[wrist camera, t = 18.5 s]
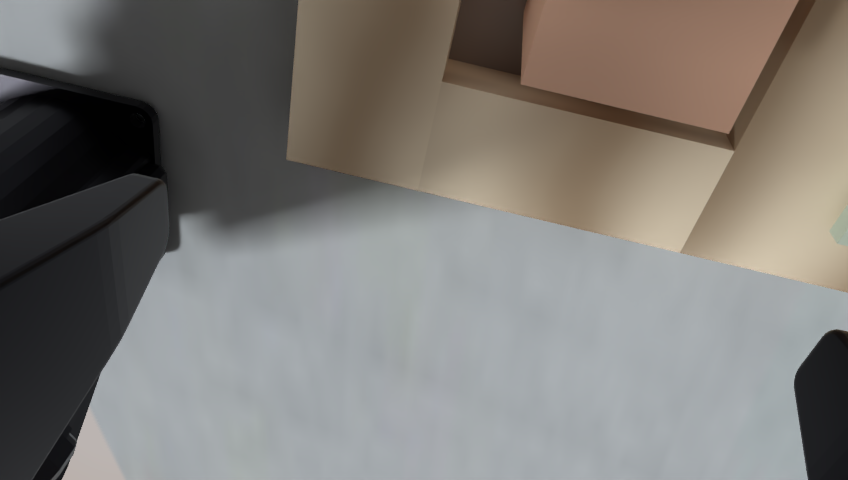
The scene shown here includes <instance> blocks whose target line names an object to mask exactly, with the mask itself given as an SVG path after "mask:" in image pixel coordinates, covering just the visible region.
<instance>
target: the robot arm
mask: <svg viewBox="0 0 848 480" xmlns="http://www.w3.org/2000/svg"><path fill="white" fill-rule="evenodd" d="M136 113H137V114H139V115H141V116H142V117H143V118H144V120H145V122H142V121H140V120H139V119H138V118H137V116H136ZM168 238H169V214H168V194H167V174H166V172H165V170H164V168H163V167H162V166H161V157H160V138H159V120H158V115H157V113H156V111H155V110H154V108H153V107H152V106H150V105H149V104H148V103H145V102H143V101H139V100H135V99H131V98H126V97H122V96H118V95H114V94H110V93H105V92H101V91H97V90H93V89H88V88H84V87H80V86H76V85H72V84H67V83H63V82H59V81H55V80H50V79H46V78H42V77H38V76H34V75H29V74H25V73H21V72H17V71H12V70H8V69H4V68H0V480H61V479H62V478H63V475H64V473H65V471H66V469H67V467H68V464H69V462H70V459H71V457H72V456H73V454H74V451H75V447H76V443H77V439H78V436H79V433H80V430H81V427H82V425H83V422H84V419H85V416H86V413H87V410H88V407H89V405H90V402H91V399H92V396H93V393H94V390H95V387H96V385H97V382H98V379H99V376H100V373H101V371H102V370H103V368H104V366H105V365H106V363H107V362H108V360H109V359H110V357H111V355H112V354H113V352H114V351H115V349H116V347H117V346H118V344H119V342H120V341H121V339H122V337H123V335H124V333H125V331H126V329H127V327H128V325H129V323H130V321H131V319H132V317H133V315H134V313H135V311H136V309H137V307H138V304H139V302H140V300H141V298H142V296H143V294H144V292H145V290H146V288H147V286H148V284H149V281H150V279H151V277H152V275H153V273H154V271H155V269H156V267H157V265H158V263H159V261H160V260H161V258H162V257H163V256H164V254H165V250H166V249H165V248H166V245H167V242H168ZM794 390H795V397H796V403H797V410H798V417H799V423H800V430H801V437H802V443H803V450H804V457H805V463H806V470H807V476H808V480H848V332H847V331H842V330H837V329H836V330H831V331H829V332H827V333H826V334H825V335H824V336H823V337H822V338H821V339H820V341H819V342H818V343H817V345H816V346H815V347H814V349H813V350H812V351H811V353H810V354H809V355H808V357H807V358H806V359H805V361H804V362H803V363H802V364H801V366H800V367H799V369H798V371H797V373H796V375H795V380H794Z"/></svg>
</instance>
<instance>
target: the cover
mask: <svg viewBox="0 0 848 480" xmlns="http://www.w3.org/2000/svg"><path fill="white" fill-rule="evenodd" d="M829 232H830V233H831V235H832V236H833V238H834V240H835V241H836V243H837V244H840V245H844V246H848V205H847V206H846V208H845V209H844V210H843V212H842V213H841V215H840V216H839V218H838V219H837V221H836V222H835V223H834V225H833V226H832V228H831V229H830V231H829Z"/></svg>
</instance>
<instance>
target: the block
mask: <svg viewBox="0 0 848 480" xmlns="http://www.w3.org/2000/svg"><path fill="white" fill-rule="evenodd" d="M798 1H799V0H527V2H526V5H525V9H524V13H523V39H522V64H521V85H525V86H530V87H534V88H538V89H542V90H546V91H551V92H555V93H559V94H563V95H567V96H572V97H576V98H580V99H584V100H588V101H593V102H597V103H601V104H605V105H609V106H614V107H618V108H622V109H626V110H630V111H635V112H639V113H643V114H647V115H651V116H655V117H660V118H664V119H668V120H672V121H676V122H681V123H685V124H689V125H693V126H697V127H702V128H706V129H710V130H714V131H718V132H723V133H727V134H729V132H730V130H731V129H732V127H733V125H734V123H735V121H736V119H737V117H738V115H739V113H740V111H741V109H742V108H743V106H744V104H745V102H746V100H747V98H748V96H749V94H750V92H751V90H752V89H753V87H754V85H755V83H756V81H757V79H758V77H759V75H760V73H761V71H762V69H763V68H764V66H765V64H766V62H767V60H768V58H769V56H770V54H771V52H772V50H773V48H774V47H775V45H776V43H777V41H778V39H779V37H780V35H781V33H782V31H783V29H784V28H785V26H786V24H787V22H788V20H789V18H790V16H791V14H792V12H793V10H794V8H795V7H796V5H797V3H798Z"/></svg>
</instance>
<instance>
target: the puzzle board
mask: <svg viewBox="0 0 848 480" xmlns="http://www.w3.org/2000/svg"><path fill="white" fill-rule="evenodd" d="M526 2H527V0H298V12H297V25H296V38H295V51H294V64H293V77H292V90H291V103H290V116H289V129H288V142H287V155H286V160H290V161H294V162H298V163H303V164H307V165H311V166H315V167H319V168H324V169H328V170H332V171H336V172H341V173H345V174H349V175H353V176H358V177H362V178H366V179H370V180H374V181H379V182H383V183H387V184H391V185H396V186H400V187H404V188H408V189H412V190H417V191H421V192H425V193H429V194H434V195H438V196H442V197H446V198H450V199H455V200H459V201H463V202H467V203H472V204H476V205H480V206H484V207H489V208H493V209H497V210H501V211H505V212H510V213H514V214H518V215H522V216H527V217H531V218H535V219H539V220H543V221H548V222H552V223H556V224H560V225H565V226H569V227H573V228H577V229H581V230H586V231H590V232H594V233H598V234H603V235H607V236H611V237H615V238H620V239H624V240H628V241H632V242H636V243H641V244H645V245H649V246H653V247H658V248H662V249H666V250H670V251H674V252H679V253H683V254H687V255H691V256H696V257H700V258H704V259H708V260H712V261H717V262H721V263H725V264H729V265H734V266H738V267H742V268H746V269H751V270H755V271H759V272H763V273H767V274H772V275H776V276H780V277H784V278H789V279H793V280H797V281H801V282H805V283H810V284H814V285H818V286H822V287H827V288H831V289H835V290H839V291H843V292H848V246H844V245H840V244H837V243H836V241H835V240H834V238H833V236H832V235H831V233H830V232H829V231H830V229H831V228H832V226H833V225H834V223H835V222H836V221H837V219H838V218H839V216H840V215H841V213H842V212H843V210H844V209H845V208H846V206H847V205H848V0H799V1H798V3H797V5H796V7H795V8H794V10H793V12H792V14H791V16H790V18H789V20H788V22H787V24H786V26H785V28H784V29H783V31H782V33H781V35H780V37H779V39H778V41H777V43H776V45H775V47H774V48H773V50H772V52H771V54H770V56H769V58H768V60H767V62H766V64H765V66H764V68H763V69H762V71H761V73H760V75H759V77H758V79H757V81H756V83H755V85H754V87H753V89H752V90H751V92H750V94H749V96H748V98H747V100H746V102H745V104H744V106H743V108H742V109H741V111H740V113H739V115H738V117H737V119H736V121H735V123H734V125H733V127H732V129H731V130H730V132H729V134H727V133H723V132H718V131H714V130H710V129H706V128H702V127H697V126H693V125H689V124H685V123H681V122H676V121H672V120H668V119H664V118H660V117H655V116H651V115H647V114H643V113H639V112H635V111H630V110H626V109H622V108H618V107H614V106H609V105H605V104H601V103H597V102H593V101H588V100H584V99H580V98H576V97H572V96H567V95H563V94H559V93H555V92H551V91H546V90H542V89H538V88H534V87H530V86H525V85H521V64H522V39H523V13H524V9H525V5H526Z"/></svg>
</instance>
